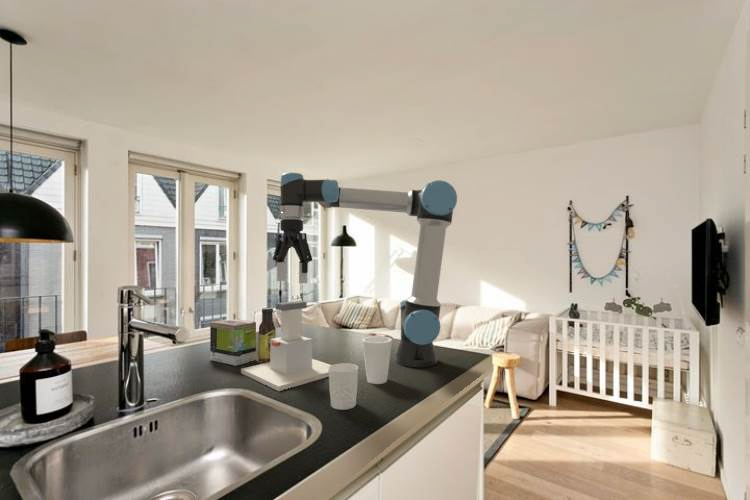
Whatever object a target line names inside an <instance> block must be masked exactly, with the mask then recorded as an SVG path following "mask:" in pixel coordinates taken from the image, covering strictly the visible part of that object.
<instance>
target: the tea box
mask: <svg viewBox="0 0 750 500" xmlns="http://www.w3.org/2000/svg"><path fill="white" fill-rule="evenodd" d="M209 331H210V332H209V333H210V335H209V336H210V341H209V343H210V345H209V346H210V347H209V349H210V351H209V355H210V356H209V357H210V361H214V362H218V363H221V364H226V365H231V366H235V367H236V366H240V365H244V364H247V363H250V361H251V362H254V361H256V360H257V321H252V320H245V319H244V320H243V319H236V318H230V319H222V320H216V321H210V329H209Z"/></svg>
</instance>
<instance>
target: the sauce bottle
mask: <svg viewBox="0 0 750 500" xmlns="http://www.w3.org/2000/svg"><path fill="white" fill-rule="evenodd" d="M273 313H274V308H273V307H264V308H262V309H261V314H262V315H261V317H262V318H261V322H260V323H259V326H258V342H257V343H258V345H257V347H258V348H257V358H258V363H259V364H264V363H268V362H270V339H273V338H277V334H276V333H277V331H276V330H277V329H276V326H275V323H274V318H273Z"/></svg>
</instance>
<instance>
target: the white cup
mask: <svg viewBox="0 0 750 500" xmlns="http://www.w3.org/2000/svg"><path fill="white" fill-rule="evenodd" d="M330 365H331V366H330V367H329V377H328V385H329V396H330V407H331V408H333V409H335V410H341V411H345V410H350V409H353V408H355V407H356V406H357V393H358V381H359V380H358V378H359V377H358V376H359V366H358V365H357V364H354V363H349V362H344V363H343V362H342V363H341V362H340V363H335V364H330Z"/></svg>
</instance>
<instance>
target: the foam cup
mask: <svg viewBox="0 0 750 500" xmlns="http://www.w3.org/2000/svg"><path fill="white" fill-rule="evenodd" d="M361 346H362V347H361V348H362V351H363V358H364V366H365V375H366V381H367V383H369V384H373V385H381V384H385V383H387V382H388V375H389V370H390V369H389V366H390V361H391V360H390V359H391V353H392V352H391V350H392V347H393V338H391V337H387V336H378V335H376V336H367V337H363V338H362V339H361Z"/></svg>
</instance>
